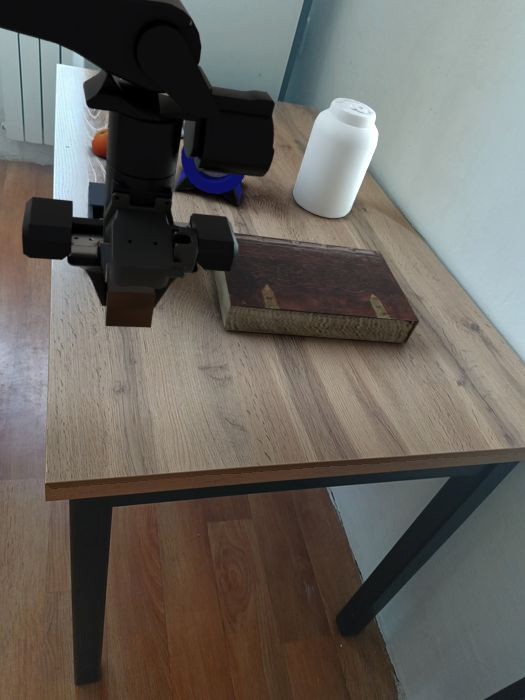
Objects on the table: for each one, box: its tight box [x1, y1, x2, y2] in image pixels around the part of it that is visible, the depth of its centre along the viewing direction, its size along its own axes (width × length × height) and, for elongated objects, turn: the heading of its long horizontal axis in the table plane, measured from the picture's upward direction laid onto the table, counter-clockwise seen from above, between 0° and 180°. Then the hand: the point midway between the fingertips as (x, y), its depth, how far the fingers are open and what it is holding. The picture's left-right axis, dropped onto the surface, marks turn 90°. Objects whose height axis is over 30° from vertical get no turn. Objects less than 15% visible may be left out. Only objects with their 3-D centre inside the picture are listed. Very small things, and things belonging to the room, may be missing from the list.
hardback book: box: [213, 232, 420, 344], centre depth 84 cm, size 29×19×5 cm, turn 99°
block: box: [104, 263, 156, 329], centre depth 54 cm, size 4×4×4 cm
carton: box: [87, 181, 110, 274], centre depth 81 cm, size 13×11×7 cm
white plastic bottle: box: [292, 97, 379, 219], centre depth 104 cm, size 12×12×20 cm
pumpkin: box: [91, 128, 108, 159], centre depth 104 cm, size 8×7×7 cm
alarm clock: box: [174, 144, 245, 207], centre depth 100 cm, size 12×12×15 cm
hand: (127, 304), depth 55 cm, fingers closed on block, 4 cm apart
